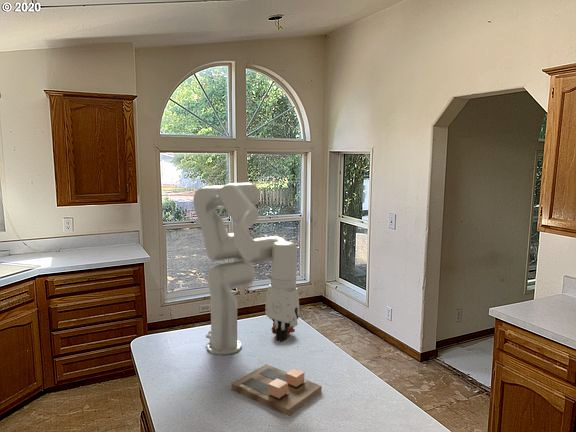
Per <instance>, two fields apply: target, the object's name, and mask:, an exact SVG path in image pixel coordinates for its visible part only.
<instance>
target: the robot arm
mask: <svg viewBox="0 0 576 432" xmlns="http://www.w3.org/2000/svg"><path fill="white" fill-rule="evenodd" d="M192 199H193V201H192V202H193V203H192V205H193V210H194V212H195V215H196V217H197V220H198V221H199V224H200V227H201V233H202V237H203V243H204V247H205V251H206V254H207V258H208V259H209V260H210V261H214V262H218V261H224V260H225V261H226V260H231V259H233V261H231V262H225V263H220V264H219V263H218V264H216V265H214V266H212V267H210V269H209V270H208V272H207V284H208V288H209V296H210V330H209V331H208V333H206V334H205V338H207V339H209V342H208V343H207V345H206V349H207V351H208V352H209V353H211V354H214V355H218V356H225V355H232V354H235V353H238V352H239V351H240V350H241V349H242V342H241V341H240V340H239V339H238V301H237V300H238V299H237V298H236V296H235V295H234V293H233V292H232V290H233V289H239V288H242V287H246V286H250V285H251V284H252V283H253V282H254V280H255V269H254V265H255V264H261V263H265V262H266V263H267V262H271V267H270V269H271V274H270V275H269V278H268V280H270V284H269V285H268V288H267V291H266V297H265V313H264V314H265V316H266V317H268V319H270V320H271V321H272V322H273V323H275V327H276V328H277V337H276V342H279V343H283V342H284V341H286V340H288V337H287V332H288V328H289V327H290V326H293V328H295V327H297V326H298V325H299V323H298V319H299V316H300V299H299V298H300V297H299V292H298V288H297V271H298V270H297V269H298V268H297V265H298V264H297V263H298V246H297V244H296V243H295V242H294V241H288V240H286V239H284V238H282V237H281V236H277V235H270V236H264V237H263V236H262V237H256V238H255V237H254V238H252V237H251V235H250V234H249V232H248V231H247V230H248V229H249V228H251V227H252V226H254V224H255V223H257V221H258V219H259V216H260V213H259V210H258V209H257V206H256V205H258V203H260V199H261V192H260V190H259V188H258V186H256V185H255V184H254V183H252V182H233V183H232V182H231V183H227V184H224V185H208V186H202V187H200V188H198V189H197V190H196V191H195V192H194V194H193V198H192ZM223 209H225V210H226V212H227V213H228V214H229V217H231V219H232V221H233V222H234V228H233V232H230V233H229V232H227V229H226V224H225V221H224V219H223V218H222V217H221V216H220V214H219V213H218V212H216V211H215V210H223ZM294 326H295V327H294Z"/></svg>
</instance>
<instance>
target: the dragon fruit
mask: <svg viewBox="0 0 576 432" xmlns="http://www.w3.org/2000/svg"><path fill="white" fill-rule="evenodd" d="M271 327H272V328H271V329H270V330H271V332H272V334H273V335H274V338H275V339H277V328H276V327H275V323H274V322H273V323H272V326H271ZM295 327H296V326H294V327H293V326H290V327H289V328H288V332H287V338H288V337H290V335H291V334H293V333H295V332H296V331H295V330H296V329H295Z"/></svg>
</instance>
